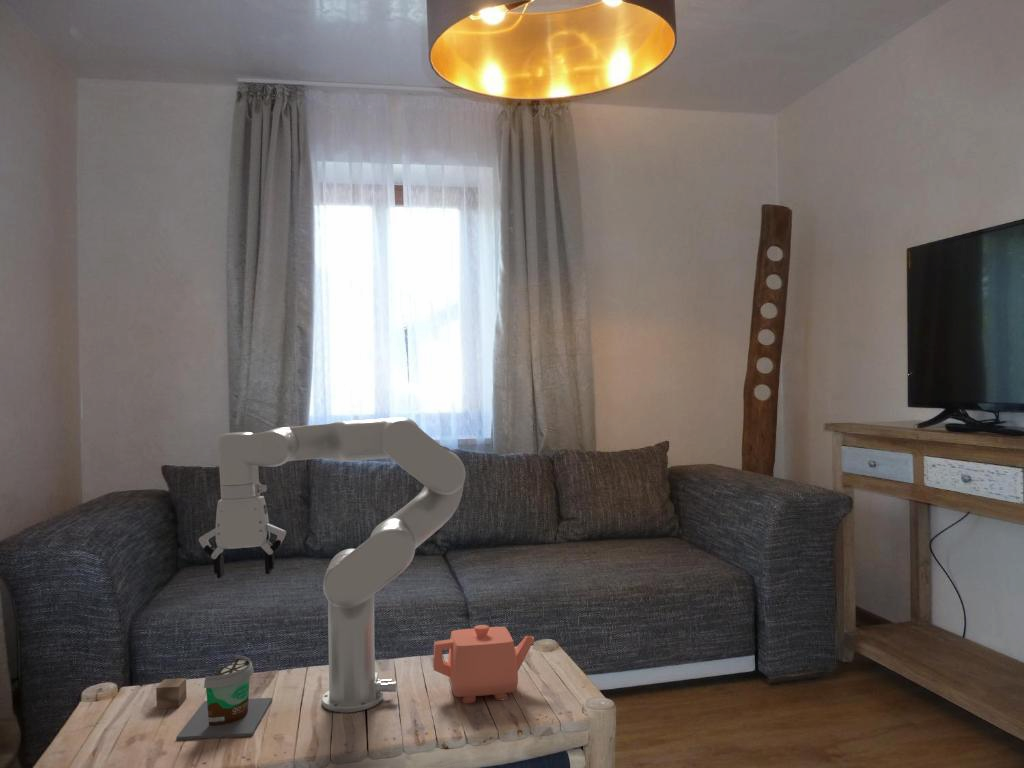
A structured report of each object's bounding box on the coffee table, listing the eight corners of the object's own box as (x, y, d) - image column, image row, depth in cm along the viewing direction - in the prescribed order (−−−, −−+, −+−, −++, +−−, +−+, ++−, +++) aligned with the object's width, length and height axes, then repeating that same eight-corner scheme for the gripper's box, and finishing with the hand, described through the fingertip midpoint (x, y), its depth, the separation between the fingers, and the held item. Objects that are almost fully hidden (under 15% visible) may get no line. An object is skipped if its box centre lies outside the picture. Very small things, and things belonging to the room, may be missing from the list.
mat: (272, 700, 158) (272, 697, 158) (252, 736, 142) (252, 732, 142) (204, 703, 157) (204, 701, 157) (176, 740, 141) (176, 736, 141)
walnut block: (186, 699, 160) (186, 678, 160) (179, 708, 155) (178, 686, 155) (164, 700, 159) (164, 679, 159) (156, 709, 155) (156, 687, 155)
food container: (234, 730, 143) (233, 678, 143) (204, 729, 144) (203, 677, 144) (265, 703, 155) (264, 655, 155) (237, 701, 156) (237, 654, 156)
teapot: (529, 676, 169) (528, 613, 169) (541, 699, 156) (540, 631, 156) (431, 684, 165) (430, 620, 165) (436, 709, 152) (435, 640, 152)
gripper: (286, 486, 159) (291, 566, 159) (202, 492, 157) (206, 573, 157) (279, 491, 151) (284, 575, 152) (191, 497, 149) (195, 583, 150)
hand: (244, 574), depth 154 cm, fingers open, 9 cm apart
